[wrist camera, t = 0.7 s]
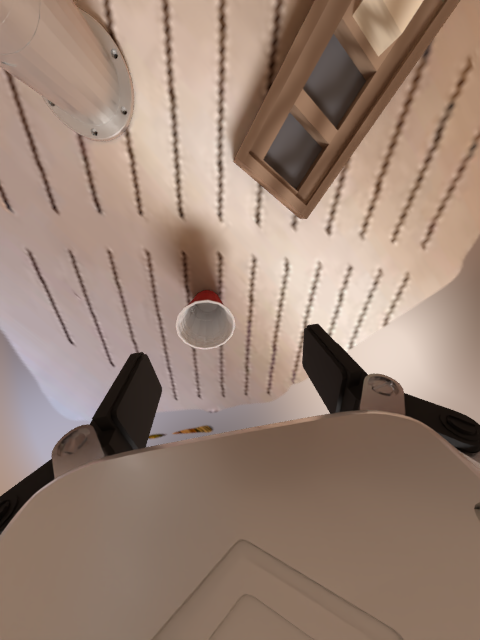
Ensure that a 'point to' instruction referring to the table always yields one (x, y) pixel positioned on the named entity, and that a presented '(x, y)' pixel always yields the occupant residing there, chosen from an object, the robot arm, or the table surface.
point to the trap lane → (329, 99)
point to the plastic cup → (205, 322)
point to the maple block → (384, 20)
